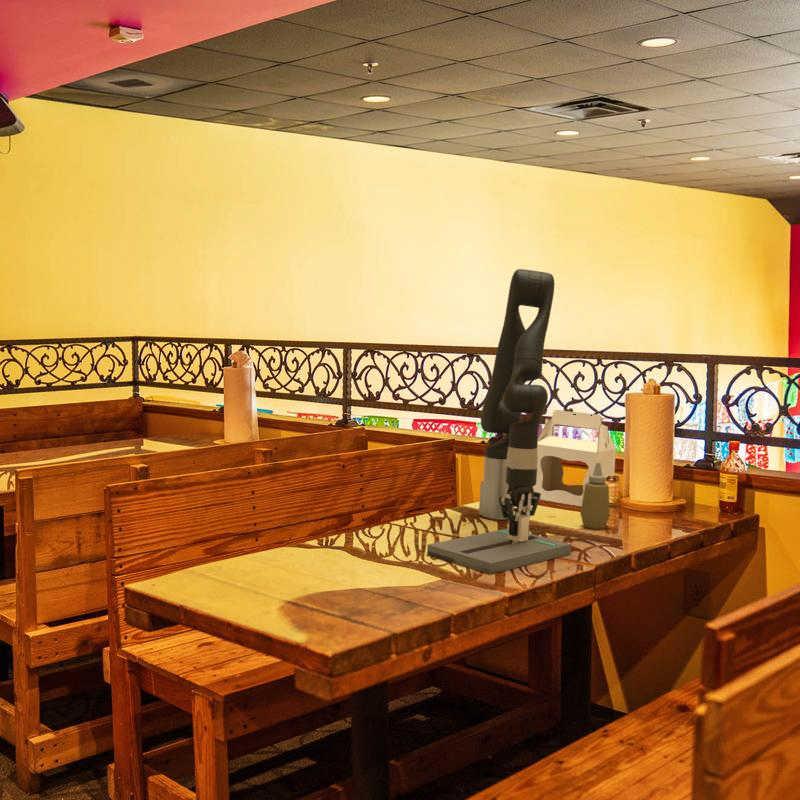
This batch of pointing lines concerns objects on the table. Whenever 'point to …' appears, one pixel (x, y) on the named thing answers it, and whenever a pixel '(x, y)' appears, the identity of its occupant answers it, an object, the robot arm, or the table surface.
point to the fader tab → (521, 529)
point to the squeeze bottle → (595, 501)
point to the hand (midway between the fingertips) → (518, 534)
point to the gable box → (571, 456)
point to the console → (497, 551)
